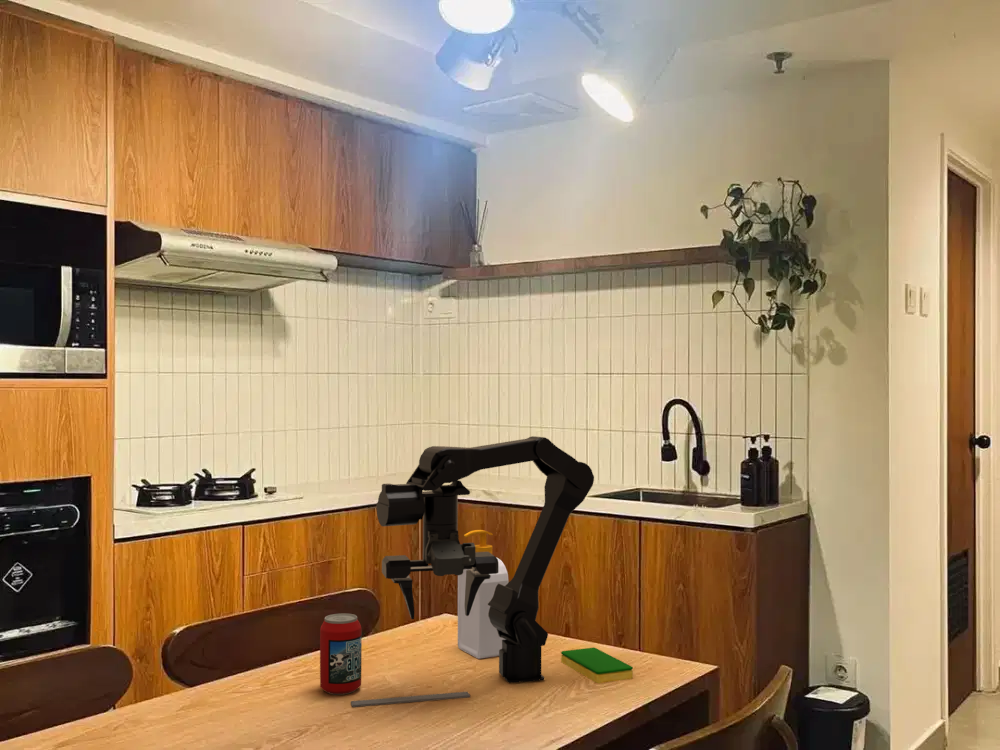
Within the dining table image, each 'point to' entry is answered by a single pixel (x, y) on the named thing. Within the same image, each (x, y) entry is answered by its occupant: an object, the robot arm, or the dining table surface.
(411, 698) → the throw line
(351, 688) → the beverage can
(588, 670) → the dish sponge
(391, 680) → the dining table surface
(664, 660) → the dining table surface
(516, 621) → the robot arm
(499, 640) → the soap bottle
